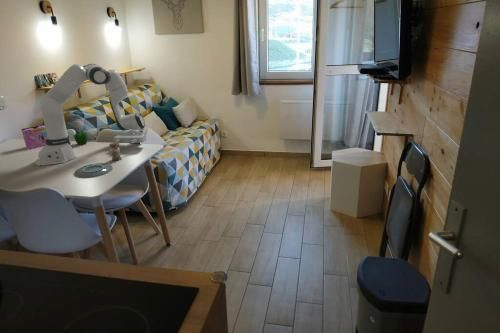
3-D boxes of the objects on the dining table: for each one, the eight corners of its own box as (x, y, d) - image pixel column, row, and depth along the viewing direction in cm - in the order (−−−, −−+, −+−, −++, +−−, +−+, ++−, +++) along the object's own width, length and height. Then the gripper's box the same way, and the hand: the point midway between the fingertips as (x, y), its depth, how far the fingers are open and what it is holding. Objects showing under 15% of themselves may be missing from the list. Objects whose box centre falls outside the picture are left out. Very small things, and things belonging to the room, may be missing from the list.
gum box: (61, 139, 262) (57, 121, 257) (65, 141, 257) (61, 123, 252) (26, 147, 247) (20, 128, 242) (29, 149, 241) (23, 130, 236)
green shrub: (86, 145, 246) (83, 131, 242) (74, 146, 245) (71, 132, 242) (90, 141, 254) (87, 128, 250) (78, 142, 253) (75, 129, 250)
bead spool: (112, 161, 213) (109, 146, 209) (111, 159, 218) (108, 143, 214) (122, 160, 215) (119, 144, 212) (121, 157, 220) (118, 142, 216)
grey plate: (75, 180, 188) (74, 177, 187) (74, 168, 204) (73, 165, 204) (114, 173, 196) (113, 170, 195) (110, 162, 212) (110, 159, 212)
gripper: (118, 131, 238) (108, 137, 225) (147, 131, 235) (138, 137, 222) (120, 140, 240) (110, 146, 228) (148, 140, 238) (140, 147, 225)
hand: (124, 142), depth 225 cm, fingers open, 8 cm apart
